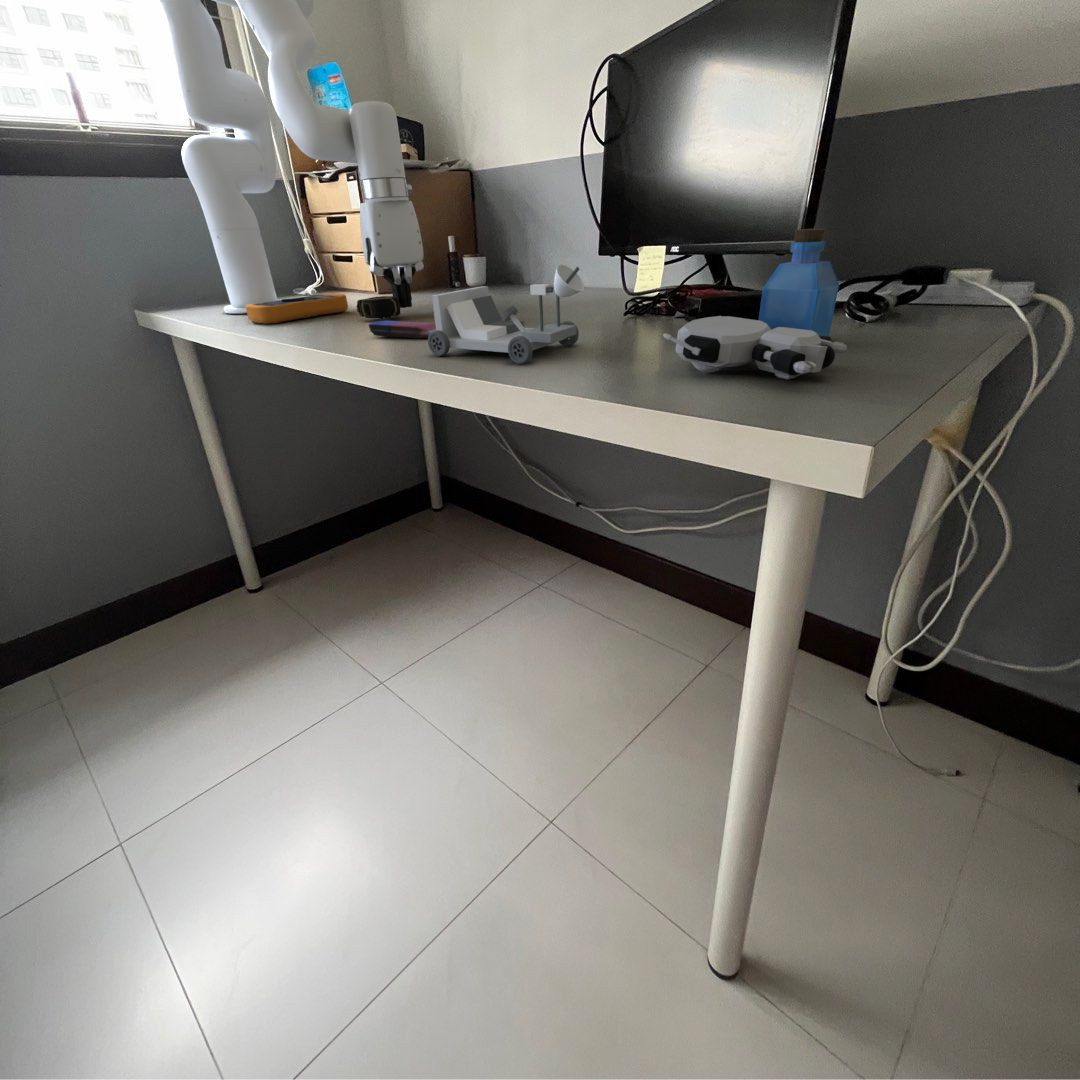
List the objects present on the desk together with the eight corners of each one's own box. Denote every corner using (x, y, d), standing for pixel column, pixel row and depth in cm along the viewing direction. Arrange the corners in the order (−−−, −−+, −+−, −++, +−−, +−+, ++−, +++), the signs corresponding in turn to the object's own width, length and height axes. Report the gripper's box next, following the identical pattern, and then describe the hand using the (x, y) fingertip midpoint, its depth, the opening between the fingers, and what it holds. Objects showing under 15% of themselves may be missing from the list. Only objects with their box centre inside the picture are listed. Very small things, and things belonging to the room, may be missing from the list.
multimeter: (245, 322, 108) (239, 303, 106) (328, 309, 120) (324, 292, 118) (267, 325, 103) (262, 305, 101) (351, 311, 115) (348, 293, 113)
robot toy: (845, 374, 57) (707, 350, 66) (858, 328, 55) (714, 308, 63) (803, 404, 50) (653, 372, 58) (817, 351, 47) (658, 325, 55)
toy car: (597, 261, 67) (545, 270, 59) (597, 347, 72) (549, 367, 63) (477, 262, 76) (417, 270, 67) (484, 339, 81) (429, 355, 72)
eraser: (445, 334, 86) (444, 322, 85) (430, 339, 82) (429, 326, 82) (383, 331, 90) (381, 319, 89) (367, 335, 86) (365, 323, 85)
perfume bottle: (755, 343, 69) (770, 231, 63) (778, 335, 73) (794, 228, 67) (806, 349, 65) (828, 229, 59) (828, 340, 69) (850, 227, 63)
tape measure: (394, 315, 107) (391, 294, 105) (407, 319, 102) (403, 296, 100) (358, 320, 104) (354, 297, 102) (369, 323, 99) (365, 300, 97)
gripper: (409, 193, 104) (425, 301, 113) (334, 195, 95) (358, 311, 104) (433, 190, 100) (447, 302, 109) (357, 191, 91) (379, 313, 100)
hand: (403, 306), depth 106 cm, fingers closed
